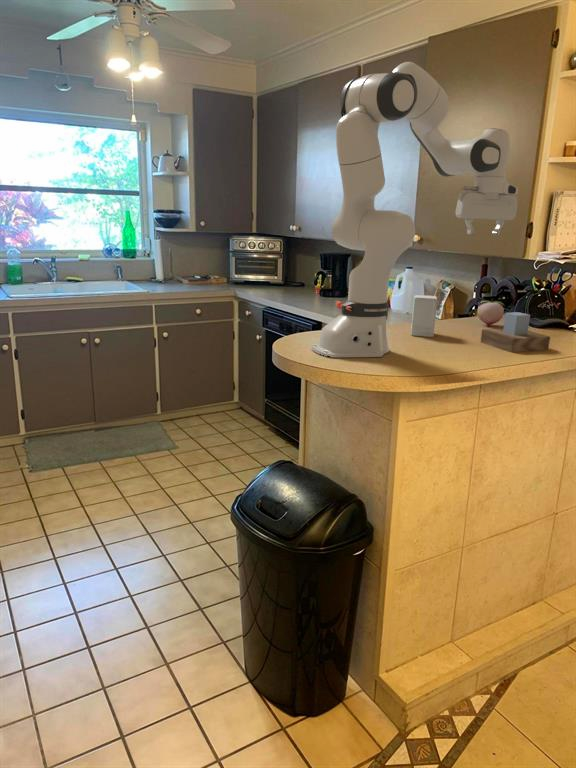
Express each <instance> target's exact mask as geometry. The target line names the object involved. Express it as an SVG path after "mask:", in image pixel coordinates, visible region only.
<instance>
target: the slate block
mask: <svg viewBox="0 0 576 768" xmlns="http://www.w3.org/2000/svg"><path fill="white" fill-rule="evenodd" d="M504 315H505V316H504V322H503V328H502V329H503V332H505V333H509V334H512V335H525V334H527V333H528V331H529V328H530V327H529V326H530V319H531V314H529V313H523V312H518V311H515V312H505V313H504Z"/></svg>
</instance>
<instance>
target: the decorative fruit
mask: <svg viewBox="0 0 576 768" xmlns="http://www.w3.org/2000/svg"><path fill="white" fill-rule="evenodd" d="M493 300H494V298H491V300H482V301H480V302H478V307H477V317H478V318H479V320H480V321H481V322H482V323H484V324H485V325H487V326H491V325H492V326H493V325H494V324H497V323H498V322H500V321H501V319H502V318H503V316H504V315H505V312H504V311H505V310H504V309H505V308H504V307H506V305H505V304H504V303H503V302H501V301H498V300H497V301H496V300H494V301H493ZM503 306H504V307H503Z"/></svg>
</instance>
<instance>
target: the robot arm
mask: <svg viewBox="0 0 576 768" xmlns="http://www.w3.org/2000/svg"><path fill="white" fill-rule="evenodd" d="M449 106H450V99H449V97H448V95H447V93H446V90H444V88H443V87H442V86H441V85H440V84H439V82H438V81H437V80H436V79H435V78H434V77H433V76H432V75H430V73H428V72H427V71H426V70H425V69H424V68H422V67H421V66H420V65H418V64H416V63H414V62H412V61H404V62H402V63H400V64H398V65H397V66H396V67H395V68H393V70H392V72H389V73H388V72H386V73H379V72H377V73H376V72H375V73H369V74H367V75H363V76H357V77H356V78H353V79H351V80H349V81H348V82H347V83H346V84H345V85H344V86H343V89H342V91H341V95H340V115H341V118H339V120H338V121H337V123H336V127H335V142H336V154H337V161H338V166H339V171H340V178H341V185H342V194H343V195H342V196H343V199H342V205H341V208H340V211H339V213H338V214H337V216H336V217H335V219H334V220H333V223H332V226H331V227H332V228H331V231H332V233H331V235H332V237H333V240H334V241H335V243H336V244H337V245H338V246H341V247H343V248H346V249H348V250H354V251H361V252H362V251H364V255H363V259H362V261H361V262H360V264H359V265H357V266H356V267H354V268H353V269H352V270H351V272H350V273H349V276H348V277H349V279H348V295H347V300H346V301H345V302H344V301H343V302H342V301H339V300H337V301H336V302H335V303H334V304H335V307H336V309H339V310H341V313H340V314H338V316H336V317H335V318H334V319H332V320H331V321H330V322H328V323H327V324H325V326H323V327H322V329H321V332H320V334H319V340H318V342H317V343H316V342H315V343H312V344H311V347H310V348H311V350H312V351H313V352H315V354H316V353H317V354H319V355H320V354H321V356H323V355H324V356H323V357H327V356H330V357H329V358H381V357H383V356H384V355H385V354H387V353H389V351H390V350H389V345H388V337H387V320H388V314H389V302H388V294H389V285H390V278H391V273H392V270H393V268H394V266H395V264H396V261H397V260H398V259H399V257H400V256H401V255H402V254H403V253H404V252H406V250H408V249H409V247H411V245H412V244H413V242H414V239H415V235H416V227H415V222H414V220H413V219H412V218H411V216H410V215H409V214H406V213H402V212H400V211H396V210H387V209H386V210H383V209H382V210H381V209H380V210H378V209H376V207H375V198H376V196H377V195H378V194H379V193H380V192H382V190H383V189H384V187H385V184H386V177H385V170H384V163H383V158H382V150H381V145H380V140H379V137H378V134H379V133H378V132H379V126H380V124H381V123H384V122H388V121H389V122H391V121H397V120H400V119H402V118H403V119H404V118H406V119H407V120H408V121H409V127H410V130H411V132H412V133H413V135H414V137H415V138H416V140H417V141H418V142H419V143H420V145H421V146H422V148H423V149H424V150H425V151H426V154H428V156H429V158H430V159H431V160H432V163H433V166H434V168H435V169H436V171H437V172H438V174H440V175H441V176H443V177H453V176H461V175H475V178H474V185H473V186H468V185H466V186H463V187H461V189H460V190H459V192H458V193H459V194H458V200H457V203H456V208H455V216H456V218H457V219H464V223H465V226H466V228H467V230H466V234H467V235H474V234H475V230H476V229H475V227H473V224H472V223H473V222H474V219H475V220H476V219H479V220H496V221H495V224H496V226H495V227H494V228H492V231H491V232H492V233H491V234H492V235H493V236H499V235H500V233H501V229H502V228H503V226H504V225H505V221H514V219H515V218H516V216H517V210H518V197H517V195H518V194H519V187H517V186H515V185H514V184H511V183H510V182H508V181H507V180H506V179H507V174H506V173H507V171H506V170H507V167H508V163H509V157H510V134H509V132H507V131H506V130H504V129H502V128H501V129H500V128H494V127H493V128H486V129H485V130H483V132H482V133H481V134H480V135H478V136H476V137H473V138H470V139H469V138H468V139H462V140H449V139H446V138H445V136H444V135H443V133H442V132H441V131H440V130H439V127H440V126H441V125H442V123H443V122H444V121H445V119H446V117H447V115H448V112H449V109H450V107H449Z"/></svg>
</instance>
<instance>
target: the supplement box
mask: <svg viewBox="0 0 576 768" xmlns="http://www.w3.org/2000/svg"><path fill="white" fill-rule="evenodd" d="M412 304H413V305H412V314H411V327H410V335H411V336H414V337H427V338H428V337H429V338H433V337H434V334H435V333H434V332H435V326H436V325H435V324H436V315H437V314H436V313H437V307H438V306H437V305H438V297H437V296H436V295H423V294H421V295H419V294H415V295H414V296H413V303H412Z"/></svg>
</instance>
